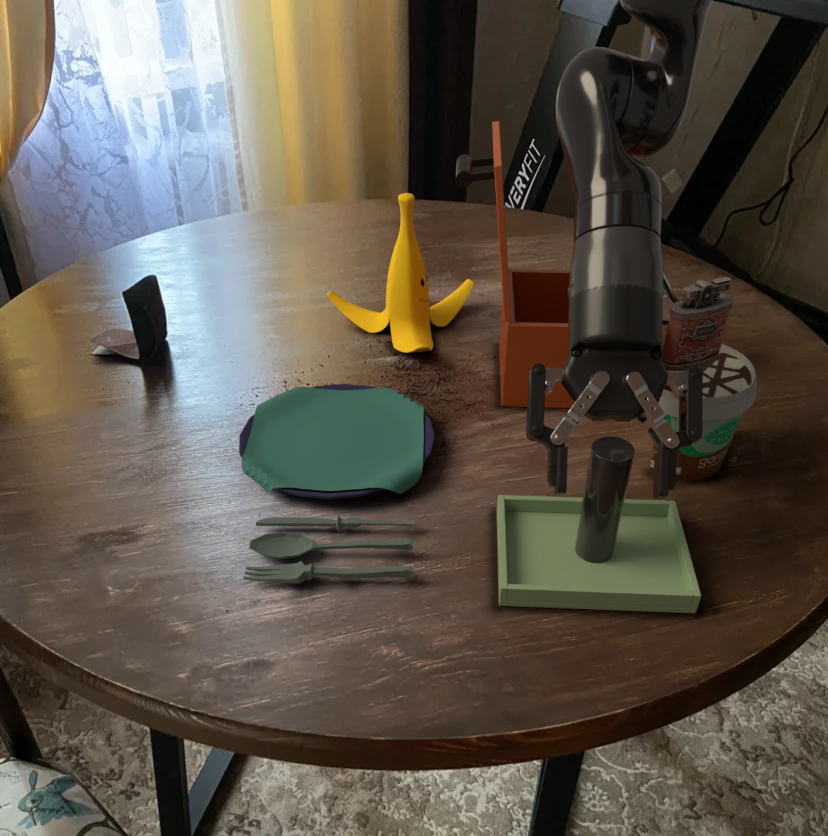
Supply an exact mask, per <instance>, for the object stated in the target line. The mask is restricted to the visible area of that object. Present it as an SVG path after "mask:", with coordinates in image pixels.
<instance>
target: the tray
mask: <svg viewBox="0 0 828 836" xmlns="http://www.w3.org/2000/svg"><path fill="white" fill-rule="evenodd" d="M582 500H583V497H575V496H574V497H573V496H547V495H546V496H545V495H544V496H543V495H518V494H517V495H516V494H498V495H497V502H496V538H497V539H496V541H497V542H496V545H497V580H498V581H497V582H498V584H497V585H498V588H497V589H498V607H499V606H500V607H518V608H519V607H521V608H548V609H572V610H573V609H574V610H575V609H577V610H596V611H597V610H598V611H626V612H646V613H647V612H648V613H649V612H651V613H674V614H675V613H676V614H677V613H678V614H697V611H698V608H699V605H700V601H701V598H702V594H701V590H700V586H699V582H698V579H697V575H696V572H695V567H694V564H693V560H692V557H691V553H690V549H689V546H688V542H687V538H686V535H685V532H684V528H683V524H682V520H681V516H680V514H679V509H678V505H677V502H676V500H667V499H665V500H664V499H638V498H637V499H635V498H625V501H624V506H623V511H622V515H621V520H620V525H619V530H618V534H617V539H616V544H615V549H614V553H613V556H612V557H611V559H609V560H608V561H606V562H603V563H591V562H587V561H585V560H583V559H581V558H580V557H579V556H578V555H577V554H576V552H575V542H576V536H577V530H578V524H579V518H580V512H581V506H582Z"/></svg>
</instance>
